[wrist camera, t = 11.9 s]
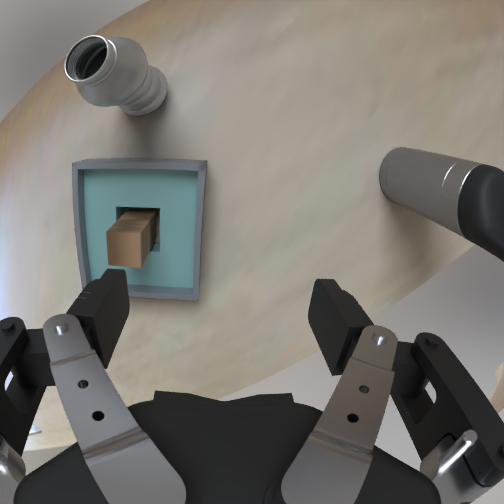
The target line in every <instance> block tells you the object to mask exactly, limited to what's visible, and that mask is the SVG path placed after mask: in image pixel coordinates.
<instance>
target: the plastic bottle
mask: <svg viewBox="0 0 504 504" xmlns="http://www.w3.org/2000/svg"><path fill="white" fill-rule="evenodd" d="M64 72H65V74H66V76H67V78H68V79H70V80H71V81H73V82H75V83H76V85H77V88H78V91H79V93H80V94H81V96H82V97H83V98H84V100H86V101H87V102H88V103H90V104H92V105H95V106H102V107H110V106H116V105H117V106H119V107H120V108H121V109H122V110H123V111H124V112H126V113H128V114H130V115H134V116H141V115H145V114H148V113H151V112H152V111H154V110H156V109H157V108H158V107H159V106H160V105H161V104H162V102H163V101H164V99H165V97H166V93H167V80H166V78H165V75H164V74H163V73H162V72H161V71H160V70H159V69H157V68H155V67H153V66H150V65H149V64H148V61H147V57H146V54H145V52H144V50H143V48H142V47H141V46H140V44H139V43H137V42H136V41H135V40H132V39H130V38H125V37H110V38H106V39H105V38H104V37H102V36H99V35H90V36H87V37H84V38H82V39H80V40H79V41H78V42H76V43H75V44H74V45H73V46H72V48H71V49H70V50H69V52H68V54H67V56H66V58H65V62H64Z"/></svg>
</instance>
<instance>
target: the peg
mask: <svg viewBox="0 0 504 504" xmlns="http://www.w3.org/2000/svg"><path fill="white" fill-rule="evenodd" d="M156 226H157V210H155V209H135V208H129V209H128V210H127V211H126V212H125V213H124V214H123V215H122V216H121V217H120V218H119V219H118V220H117V221H116V222H115V223H114V224H113V225H112V226H111V227H110V228H109V229H108V230H107V231H106V240H107V255H108V265H111V266H124V267H136V268H141V267H142V265H143V263H144V261H145V259H146V257H147V255H148V253H149V251H150V249H151V247H152V245H153V243H154V241H155V239H156Z"/></svg>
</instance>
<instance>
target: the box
mask: <svg viewBox="0 0 504 504" xmlns="http://www.w3.org/2000/svg"><path fill="white" fill-rule="evenodd" d="M206 166H207V161H201V160H181V159H146V158H111V159H86V160H82V161H78V162H75V163H72V186H73V210H74V224H75V236H76V245H77V254H78V262H79V269H80V275H81V282H82V288H83V289H84V288H85V286H86V285H87V284H88V283H90V282H92V281H93V280H95V279H100V278H101V276H102V275H103V273H104V272H105V271H106V269H108V268H111V269H124V270H125V272H126V277H127V286H128V295H129V296H131V297H144V298H159V299H175V300H194V301H199V285H200V260H201V239H202V221H203V205H204V191H205V178H206ZM122 207H144V208H160V244H155V243H153V245H152V247H151V249H150V251H149V253H148V255H147V257H146V259H145V261H144V263H143V265H142V267H141V268H136V267H124V266H111V265H108V255H107V240H106V231H107V230H108V229H109V228H110V227H111V226H112V225H113V224H114V223H115V222H116V221H117V220H118V219H119V218H120V217H121V216H122V215H123V208H122Z"/></svg>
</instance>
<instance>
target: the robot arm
mask: <svg viewBox="0 0 504 504" xmlns="http://www.w3.org/2000/svg"><path fill="white" fill-rule="evenodd" d="M380 184H381V188H382V190H383V192H384V194H385V195H386V196H387V198H389V199H390V200H391V201H393V202H395V203H397V204H399V205H402V206H404V207H406V208H408V209H410V210H412V211H414V212H416V213H418V214H420V215H422V216H424V217H426V218H428V219H430V220H432V221H434V222H436V223H438V224H439V225H441V226H443V227H445V228H447V229H449V230H451V231H453V232H455V233H457V234H458V235H460V236H462V237H464V238H465V239H467V240H469V241H471V242H473V243H475V244H476V245H478V246H480V247H482V248H483V249H485V250H487V251H488V252H490V253H491V254H493V255H495V256H496V257H498V258H499V259H501V260H502V261H503V262H504V172H503V171H502V170H500V169H499V168H496V167H493V166H489V165H485V164H481V163H477V162H473V161H469V160H465V159H460V158H456V157H452V156H447V155H442V154H438V153H433V152H428V151H422V150H417V149H411V148H405V147H399V148H396V149H394V150H392V151H391V152H389V153H388V154H387V156H386V157H385V158H384V160H383V162H382V165H381V169H380ZM129 307H130V304H129V295H128V286H127V277H126V272H125V270H124V269H111V268H108V269H106V271H105V272H104V273H103V275H102V276H101V278H100V279H95V280H93V281H92V282H90V283H88V284H87V285H86V286H85V288H84V289H83V290H82V292H81V293H80V295H79V296H78V298H77V299H76V300H75V301H74V303H73V304H72V306H71V307H70V308H69V310H68V311H67V313H66V314H59V315H55V316H53V317H51V318H49V319H48V320H47V321H46V322H45V323H44V325H43V328H42V329H27V330H26V327H25V324H24V322H23V320H22V319H20V318H18V317H9V318H5V319H3V320H1V321H0V504H470V503H471V502H473V501H474V500H475V499H477V498H479V497H480V496H481V495H483V494H484V493H485V492H487V491H488V490H489V489H491V488H492V487H493V486H495V485H496V484H497V483H498V482H500V481H501V480H502V479H503V478H504V423H503V421H502V420H501V418H500V417H499V415H498V414H497V412H496V411H495V409H494V408H493V406H492V405H491V403H490V402H489V400H488V399H487V398H486V396H485V395H484V393H483V392H482V390H481V389H480V388H479V386H478V385H477V384H476V382H475V381H474V379H473V378H472V377H471V375H470V374H469V373H468V371H467V370H466V369H465V367H464V366H463V365H462V363H461V362H460V361H459V360H458V358H457V357H456V356H455V354H454V353H453V352H452V351H451V349H450V348H449V347H448V346H447V344H446V343H445V342H444V341H443V340H442V339H441V338H440V337H438V336H436V335H434V334H432V333H426V332H425V333H420V334H418V335H417V337H416V339H415V341H414V343H408V342H400V341H398V339H397V337H396V335H395V334H394V333H393V332H392V331H391V330H389V329H387V328H385V327H382V326H377V325H374V324H373V322H372V321H371V320H370V318H369V317H368V315H367V314H366V313H365V311H364V310H362V307H361V306H360V305H359V304H358V302H357V301H356V299H355V298H354V297H353V296H352V295H351V294H349V293H348V292H346V291H345V290H342V289H341V288H340V287H339V285H338V284H337V282H336V281H335V280H334V279H317V280H316V281H315V283H314V288H313V292H312V297H311V301H310V306H309V311H308V320H309V324H310V326H311V329H312V331H313V333H314V335H315V338H316V340H317V342H318V344H319V347H320V349H321V351H322V354H323V356H324V358H325V360H326V363H327V365H328V367H329V370H330V372H331V374H332V376H335V375H342V376H341V378H340V380H339V382H338V385H337V386H336V389H335V391H334V392H333V394H332V396H331V398H330V400H329V402H328V404H327V406H326V408H325V410H324V411H323V412H322V411H320V410H318V409H316V408H314V407H311V406H308V405H304V404H299V403H294V401H293V396H292V393H285V394H261V395H255V396H250V397H245V398H241V399H235V400H230V401H219V400H214V399H210V398H206V397H201V396H197V395H193V394H189V393H177V392H165V391H155V393H154V399H153V400H151V401H145V402H140V403H137V404H134V405H131V406H129V407H126V405H125V404H124V402H123V400H122V399H121V397H120V395H119V394H118V392H117V390H116V388H115V387H114V385H113V383H112V382H111V380H110V378H109V376H108V374H107V372H106V371H105V369H107V367H108V364H109V362H110V359H111V357H112V354H113V352H114V349H115V347H116V344H117V342H118V339H119V337H120V334H121V332H122V329H123V327H124V325H125V322H126V320H127V318H128V315H129ZM10 371H11V372H12V374H13V378H12V380H11V382H10V384H9V386H8V388H7V390H6V392H5V380H6V378H7V376H8V374H9V372H10ZM429 381H430V382H431V384H432V386H433V387H434V389H435V391H436V401H435V403H433V401H432V400H431V398H430V396H429V395H428V393H427V391H426V390H425V387H426V385H427V384H428V382H429ZM47 386H56V387H57V390H58V393H59V396H60V399H61V402H62V404H63V407H64V410H65V412H66V415H67V418H68V420H69V423H70V425H71V427H72V430H73V432H74V434H75V437H76V439H77V442H76V443H74V444H73V445H72V446H70V447H69V448H67V449H66V450H64V451H63V452H61V453H60V454H58V455H57V456H56V457H54V458H53V459H51V460H50V461H48V462H46V463H45V464H43V465H42V466H40V467H39V468H37V469H36V470H34V471H33V472H31V473H30V474H28V475H27V476H26V475H25V473H26V468H25V464H24V461H23V459H22V458H21V457H22V453H23V450H24V447H25V444H26V440H27V437H28V434H29V431H30V429H31V426H32V423H33V420H34V417H35V415H36V412H37V409H38V407H39V404H40V402H41V399H42V397H43V394H44V392H45V389H46V387H47ZM389 394H391V397H392V399H393V401H394V402H395V405H396V407H397V409H398V411H399V413H400V415H401V417H402V419H403V422H404V423H405V426H406V428H407V430H408V432H409V434H410V437H411V439H412V440H413V443H414V445H415V448H416V450H417V452H418V454H419V457H420V459H421V461H422V462H421V465H420V471H418V470H416V469H414V468H412V467H410V466H409V465H407V464H405V463H403V462H402V461H400V460H398V459H397V458H395V457H393V456H391V455H390V454H388V453H386V452H385V451H383V450H381V449H380V448H378V447H377V446H375V445H374V444H375V441H376V438H377V435H378V432H379V429H380V426H381V423H382V419H383V416H384V413H385V409H386V406H387V402H388V398H389Z"/></svg>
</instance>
